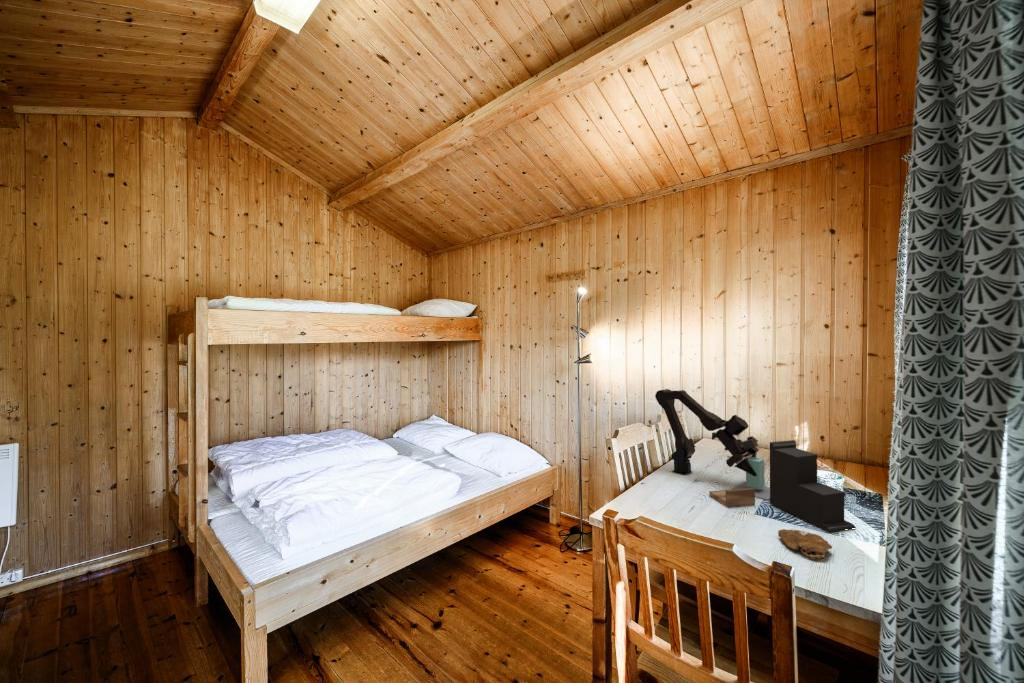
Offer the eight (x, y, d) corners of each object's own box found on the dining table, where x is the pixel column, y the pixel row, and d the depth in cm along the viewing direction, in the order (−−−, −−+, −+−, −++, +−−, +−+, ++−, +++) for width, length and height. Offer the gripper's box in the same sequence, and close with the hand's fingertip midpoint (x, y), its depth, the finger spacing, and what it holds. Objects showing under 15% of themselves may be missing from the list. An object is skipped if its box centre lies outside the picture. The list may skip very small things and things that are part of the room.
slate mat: (729, 490, 167) (729, 489, 167) (744, 482, 176) (744, 481, 176) (768, 500, 156) (767, 499, 156) (781, 491, 165) (781, 490, 165)
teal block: (746, 486, 167) (745, 459, 167) (751, 483, 170) (750, 456, 170) (759, 489, 163) (759, 461, 163) (764, 486, 166) (764, 459, 166)
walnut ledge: (709, 496, 162) (709, 481, 162) (734, 494, 163) (734, 479, 163) (728, 507, 151) (727, 491, 151) (755, 505, 153) (754, 489, 153)
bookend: (856, 529, 132) (855, 456, 132) (829, 533, 130) (827, 459, 130) (793, 501, 155) (792, 439, 155) (769, 504, 153) (767, 441, 153)
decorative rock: (846, 564, 114) (809, 539, 129) (846, 549, 114) (809, 526, 129) (803, 562, 114) (771, 538, 129) (804, 547, 114) (771, 524, 129)
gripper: (733, 434, 163) (764, 468, 155) (753, 427, 175) (783, 458, 166) (714, 450, 170) (743, 483, 161) (734, 442, 181) (762, 473, 173)
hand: (758, 474), depth 165 cm, fingers closed on teal block, 5 cm apart
